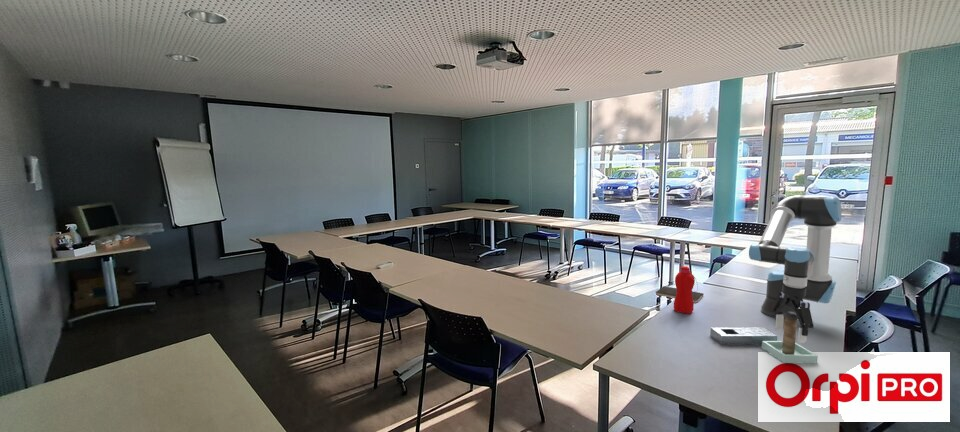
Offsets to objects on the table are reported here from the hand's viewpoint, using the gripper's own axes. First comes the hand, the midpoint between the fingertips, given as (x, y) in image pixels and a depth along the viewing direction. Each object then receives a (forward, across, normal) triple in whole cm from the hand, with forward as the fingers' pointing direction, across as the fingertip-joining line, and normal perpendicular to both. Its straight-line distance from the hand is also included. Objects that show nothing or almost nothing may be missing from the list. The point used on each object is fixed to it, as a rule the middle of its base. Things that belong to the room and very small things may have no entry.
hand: (790, 335), depth 159 cm
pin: (+8, 0, 0) cm, 8 cm away
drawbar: (+9, -14, -10) cm, 19 cm away
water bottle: (+9, -49, -19) cm, 53 cm away
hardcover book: (+9, -75, -10) cm, 76 cm away
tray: (+9, 0, 0) cm, 9 cm away
